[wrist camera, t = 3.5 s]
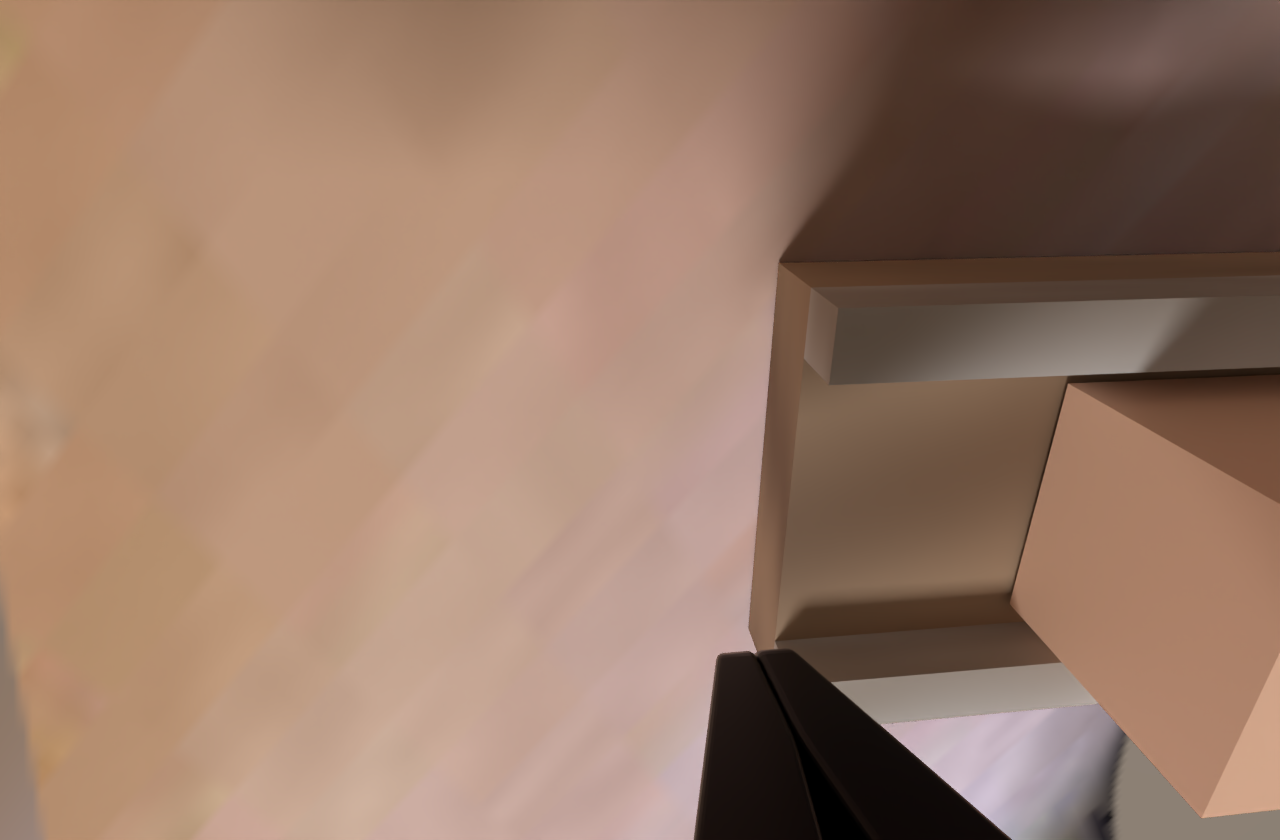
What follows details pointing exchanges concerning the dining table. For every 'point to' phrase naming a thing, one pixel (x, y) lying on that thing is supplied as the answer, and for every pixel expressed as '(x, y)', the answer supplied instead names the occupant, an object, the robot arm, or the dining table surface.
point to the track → (956, 452)
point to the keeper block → (1169, 575)
